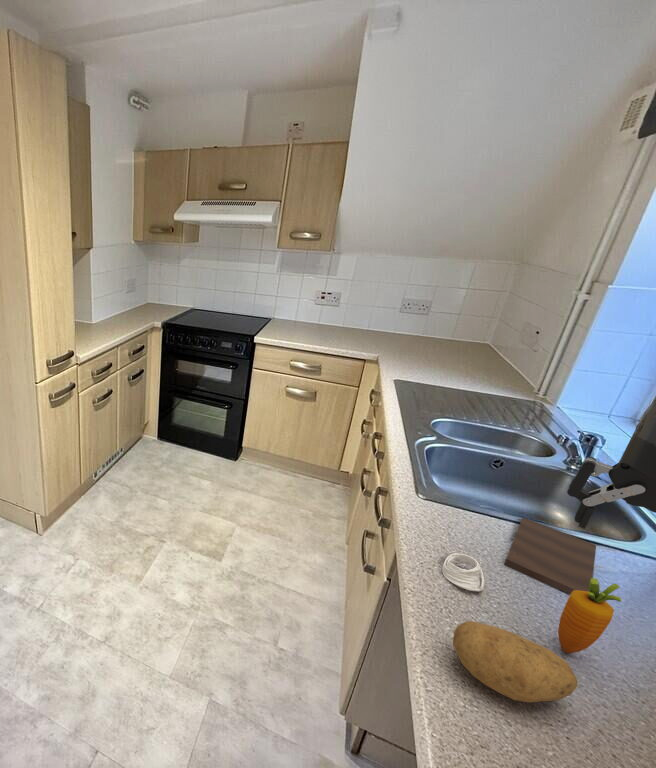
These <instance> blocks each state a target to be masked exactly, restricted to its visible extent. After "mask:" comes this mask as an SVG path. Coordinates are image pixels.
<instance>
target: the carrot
mask: <svg viewBox="0 0 656 768" xmlns="http://www.w3.org/2000/svg"><path fill="white" fill-rule="evenodd" d="M619 588H621V586H620V585H618V584H617V583H613V584H611V585H609V586H608V587H606V588H605V589H604V590H603V591H602V592H600V589H601V588H600V584H599V580H598V579H597V578H595V577H593V578H590V582H589V592H588V591H580V590H574V591H572V592H571V594H569V596H568V598H567V601H566V602H565V605H564V607H563V610H562V612H561V615H560V617H559V623H558V630H557V635H558V642H559V645H560V648H561V650H562V651H563V652H564V653H565V654H574V653H578V652H583V650H584V651H585V650H586V649H588V648H589V647H590V646H592V645H593V644H594V643H595V642H596V641H598V640H599V639H600V638H601V636H602V635H603V634H604V632H605V630H607V628H608V627H609V625H610V623H611V622H612V619H613V616H614V613H615V609H614V607H613V606H611V605H610V604H609V602H608V601H617V602H620V603H621V602H622V601H623V600H622V597H619V596H618V595H614V594H611V593H613V592H614V591H616V590H618V589H619Z"/></svg>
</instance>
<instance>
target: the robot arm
mask: <svg viewBox="0 0 656 768" xmlns="http://www.w3.org/2000/svg"><path fill="white" fill-rule="evenodd" d="M638 421H639V422H638V423H637V425H636V426H635V430H634V431H633V434H632V435H631V437H630V439H629V442H628V443H627V446H626V447H625V449H624V451H623V453H622V455H621V458H620V459H619V461H618V462H617V463H616V464H614V465H609V464H606V463H603V462H600V461H598V460H597V459H596V457H594V456H586V457H585V458H584V460H583V461H582V462H581V465H580V466H579V468H578V470H577V472H576V474H575V475H574V477H573V478H572V480H571V482H570V484H569V486H568V489H567V491H566V493H567V495H568V496H570V497H572V498H575V499H577V500H578V501H579V502H580V504H579V506H578V508H577V510H576V512H575V515H574V522H575V523H578V525H577V527H578V528H581V529H584V530H585V529H586V527H587V525H588V524H589V521H590V520H591V518H592V516H593V513H594V512H595V509H596V506H599V505H601V504H604V503H612V502H614V501H619V500H623V501H624V502H625V504H628V505H631V506H634V507H640V508H643V509H646V510H648V511H650V512H652V513H655V514H656V395H655V396H654V398H653V399H652V401H651V403H650V404H649V406H648V407H647V408H646V410H644V412H643V414H642V416H641V417H640V419H639V420H638ZM601 474H607V476H608V478H609V480H610V481H611V483H609V484H605V485H603V486H601V487H600V488H597V489H593V490H590V491H587V490H586V489H584V487H585V485H586V484H587V483H588V480H589V479H590V477H594V478H595V477H599V476H600V475H601Z"/></svg>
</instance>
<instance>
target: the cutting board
mask: <svg viewBox="0 0 656 768" xmlns="http://www.w3.org/2000/svg"><path fill="white" fill-rule="evenodd" d="M596 553H597V544H595V543H592V542H589V541H587V540H584V539H582V538H579V537H576V536H574V535H571V534H569V533H565V532H563V531H562V530H561V531H560V530H558V529H555V528H553V527H550V526H548V525H545V524H543V523H540V522H537V521H534V520H532V519H530V518H528V517H527V518H526V517H525V516H522V517H521V520H520V522H519V525H518V527H517V530H516V532H515V534H514V538H513V541H512V543H511V546H510V547H509V550H508V553H507V556H506V558H505V561H504V562H503V565H504V566H506V567H509V568H511V569H513V570H515V571H517V572H519V573H522V574H523V575H526V576H528V577H530V578H532V579H535V580H537V581H539V582H542V583H543V584H546V585H547V586H550V587H552V588H555V589H556V590H558V591H560V592H563V593H565V594H568V595H570V594H571V592H572V591H574V590H580V591H588V592H589V582H590V578H594V569H595V560H596Z"/></svg>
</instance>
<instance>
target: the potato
mask: <svg viewBox="0 0 656 768" xmlns="http://www.w3.org/2000/svg"><path fill="white" fill-rule="evenodd" d="M452 638H453V639H452V645H453V648H454V650H455V652H456V655H457V656H458V658H459V660H460V662H461V664H462V665H463V667H464V668H465V669H466V670H467V671H468V672H469V673H470V674H471V675H472V676H473V677H474V678H476V679H477V680H478V681H479V682H480V683H482V684H483V685H485V686H486V687H487V688H490V689H492V690H493V691H495V692H497V693H499V694H501V695H503V696H505V697H507V698H509V699H511V700H513V701H517V702H523V703H538V702H539V703H540V702H555V701H558V700H562V699H564V698H567V697H568V696H570V695H572V694H573V693H574V692H575V691H576V689H577V687H578V686H579V685H578V678H577V676H576V675H575V672H573V669H572V668H571V666H570V665H569V664H568V662H567V661H566V660H565V659H563V658H562V657H560V656H559V655H558V654H556V653H555V652H554V651H552V650H550V649H548V648H547V647H544V646H542V645H540V644H539V643H536V642H535V641H533V640H532V641H531V640H529V639H527V638H525V637H523V636H521V635H518V634H516V633H513V632H511V631H509V630H506V629H504V628H501V627H497V626H493V625H489V624H487V623H482V622H477V621H473V620H466V621H464V622H463V623H461V624H458V625H457V626H456V628H455V629H454V630H453V637H452Z"/></svg>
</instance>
